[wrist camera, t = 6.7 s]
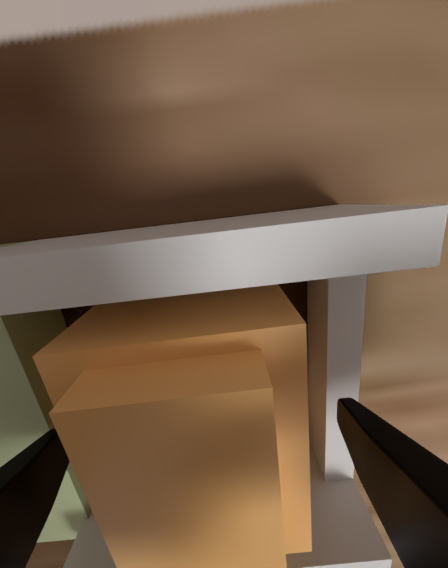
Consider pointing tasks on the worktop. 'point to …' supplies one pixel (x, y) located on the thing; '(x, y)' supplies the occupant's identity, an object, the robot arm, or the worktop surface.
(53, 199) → the worktop surface
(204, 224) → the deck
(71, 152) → the worktop surface
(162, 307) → the orange stepped block
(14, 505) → the robot arm
